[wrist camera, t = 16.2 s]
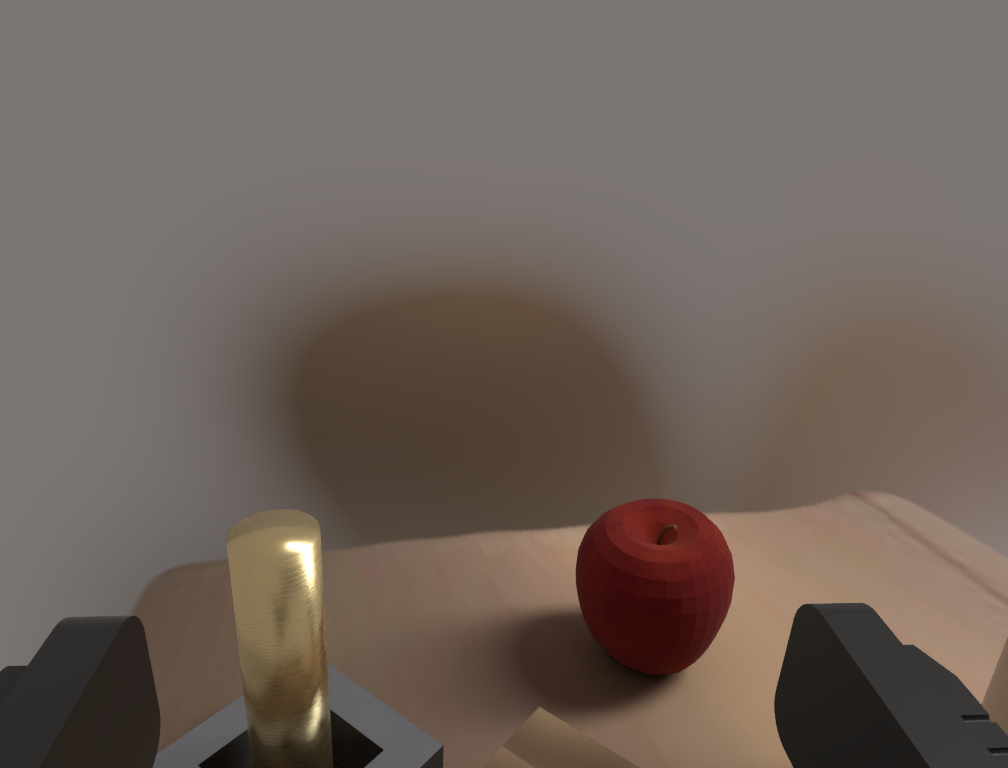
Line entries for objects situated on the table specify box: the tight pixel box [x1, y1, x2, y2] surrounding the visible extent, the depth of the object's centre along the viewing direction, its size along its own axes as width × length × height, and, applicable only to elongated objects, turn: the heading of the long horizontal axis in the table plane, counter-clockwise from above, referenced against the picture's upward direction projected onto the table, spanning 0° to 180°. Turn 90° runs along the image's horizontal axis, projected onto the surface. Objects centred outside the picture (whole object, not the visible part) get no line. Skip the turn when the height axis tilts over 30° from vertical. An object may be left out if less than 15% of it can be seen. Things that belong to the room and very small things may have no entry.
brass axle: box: [227, 509, 333, 768], centre depth 32 cm, size 4×4×16 cm
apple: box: [576, 499, 735, 675], centre depth 45 cm, size 10×10×10 cm
